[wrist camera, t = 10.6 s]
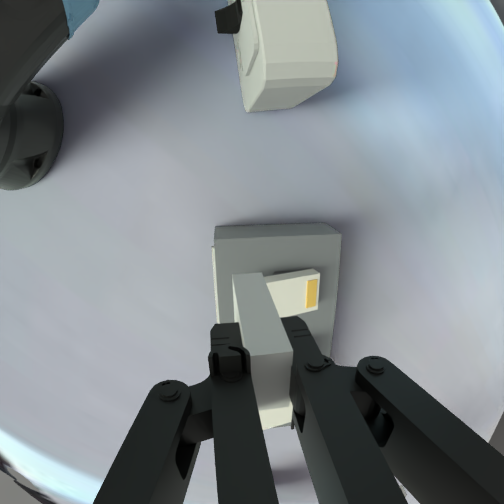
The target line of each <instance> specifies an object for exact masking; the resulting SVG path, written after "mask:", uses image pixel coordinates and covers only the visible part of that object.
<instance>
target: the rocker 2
mask: <svg viewBox="0 0 504 504" xmlns="http://www.w3.org/2000/svg"><path fill="white" fill-rule="evenodd" d="M292 410H293V406H292V402H291V399H290V404H289V407H284V408H277V409H269V410H260V411H259V415H260V420H261V425H262V430H265V429H269V428H272V427H276V426H279V425H283V424H286V423H289V422H291V420H292Z"/></svg>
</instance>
